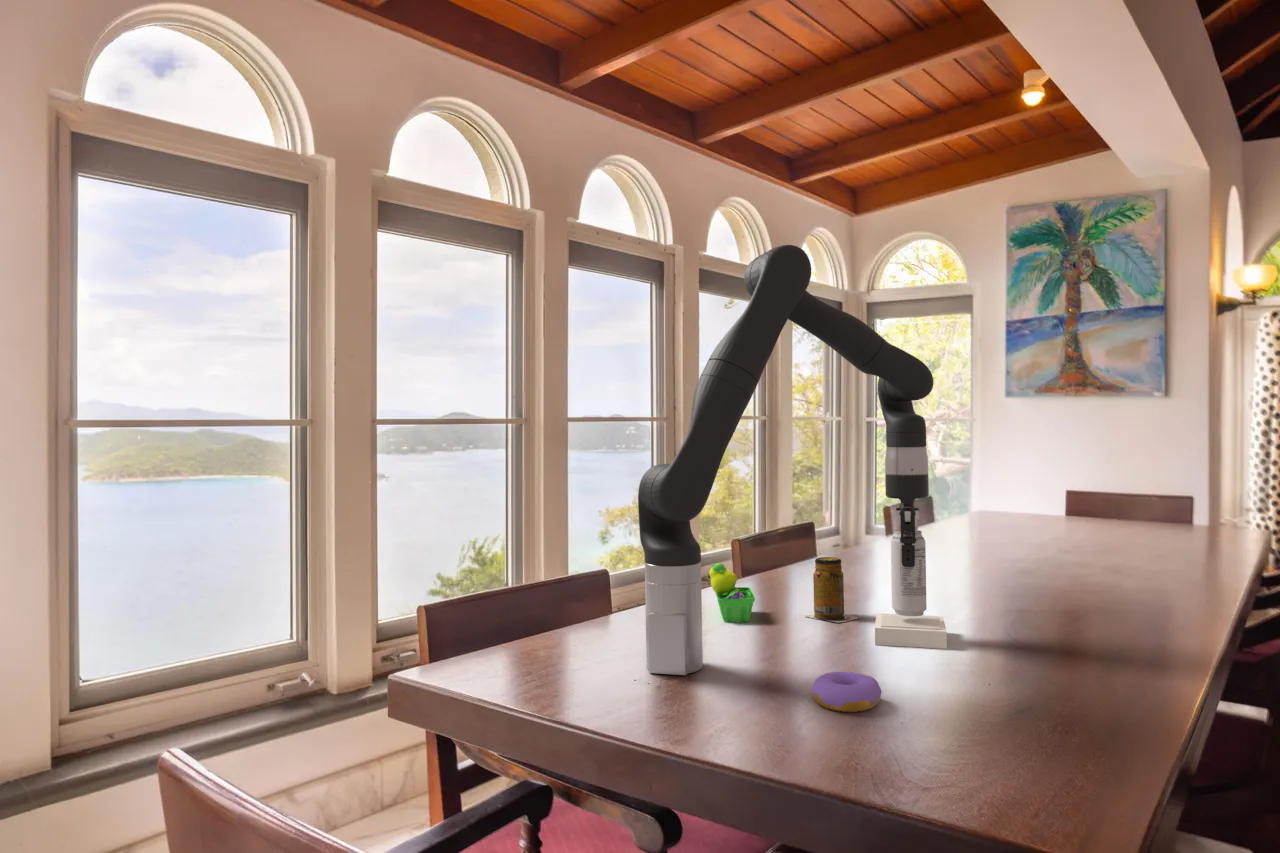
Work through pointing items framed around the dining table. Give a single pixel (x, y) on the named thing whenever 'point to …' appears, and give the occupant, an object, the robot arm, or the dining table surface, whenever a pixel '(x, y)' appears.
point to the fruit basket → (731, 595)
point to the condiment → (829, 591)
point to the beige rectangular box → (910, 631)
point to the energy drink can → (908, 578)
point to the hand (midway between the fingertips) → (908, 563)
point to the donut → (846, 691)
